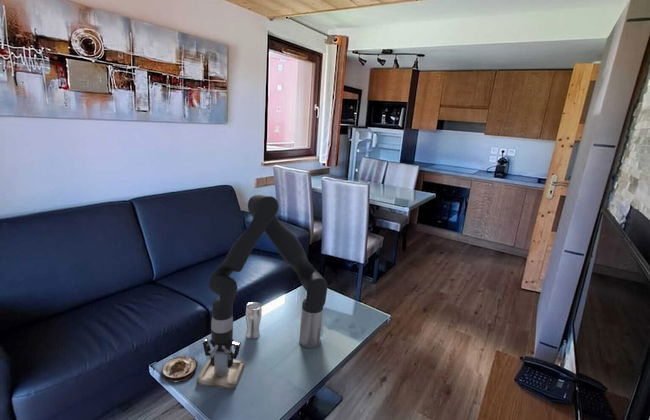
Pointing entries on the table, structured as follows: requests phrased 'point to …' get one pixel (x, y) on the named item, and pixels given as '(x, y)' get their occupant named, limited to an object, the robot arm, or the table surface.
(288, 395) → the table surface
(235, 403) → the table surface
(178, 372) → the stuffed round slice
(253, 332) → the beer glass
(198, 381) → the birch tray
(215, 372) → the grey rounded cylinder
